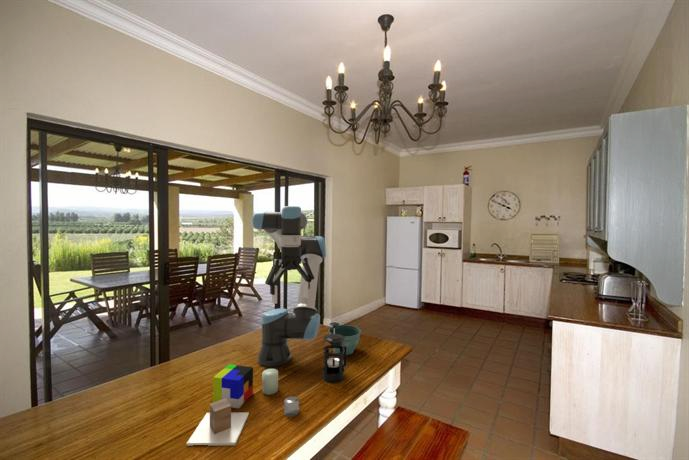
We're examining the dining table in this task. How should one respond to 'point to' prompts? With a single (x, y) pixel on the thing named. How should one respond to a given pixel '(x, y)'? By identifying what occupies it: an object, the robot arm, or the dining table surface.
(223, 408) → the walnut block
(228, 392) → the puzzle toy
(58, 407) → the dining table surface
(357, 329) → the flower pot
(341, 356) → the french press
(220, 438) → the plate
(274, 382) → the pale green egg
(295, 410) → the grey tin
